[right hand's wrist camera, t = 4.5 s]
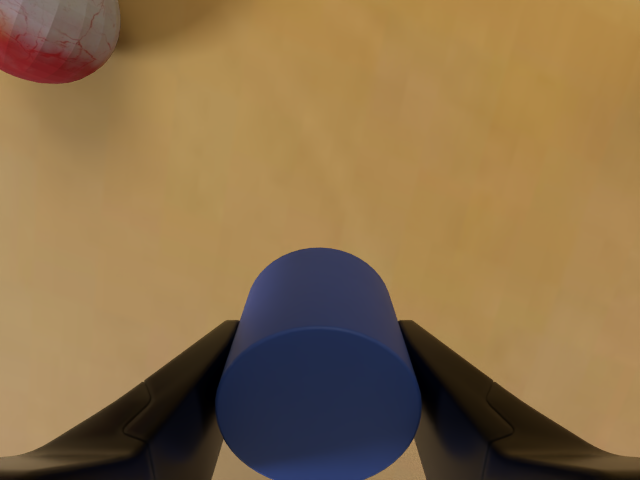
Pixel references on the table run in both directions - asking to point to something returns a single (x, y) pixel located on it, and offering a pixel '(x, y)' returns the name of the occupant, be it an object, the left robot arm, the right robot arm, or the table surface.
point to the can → (318, 373)
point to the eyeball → (57, 38)
